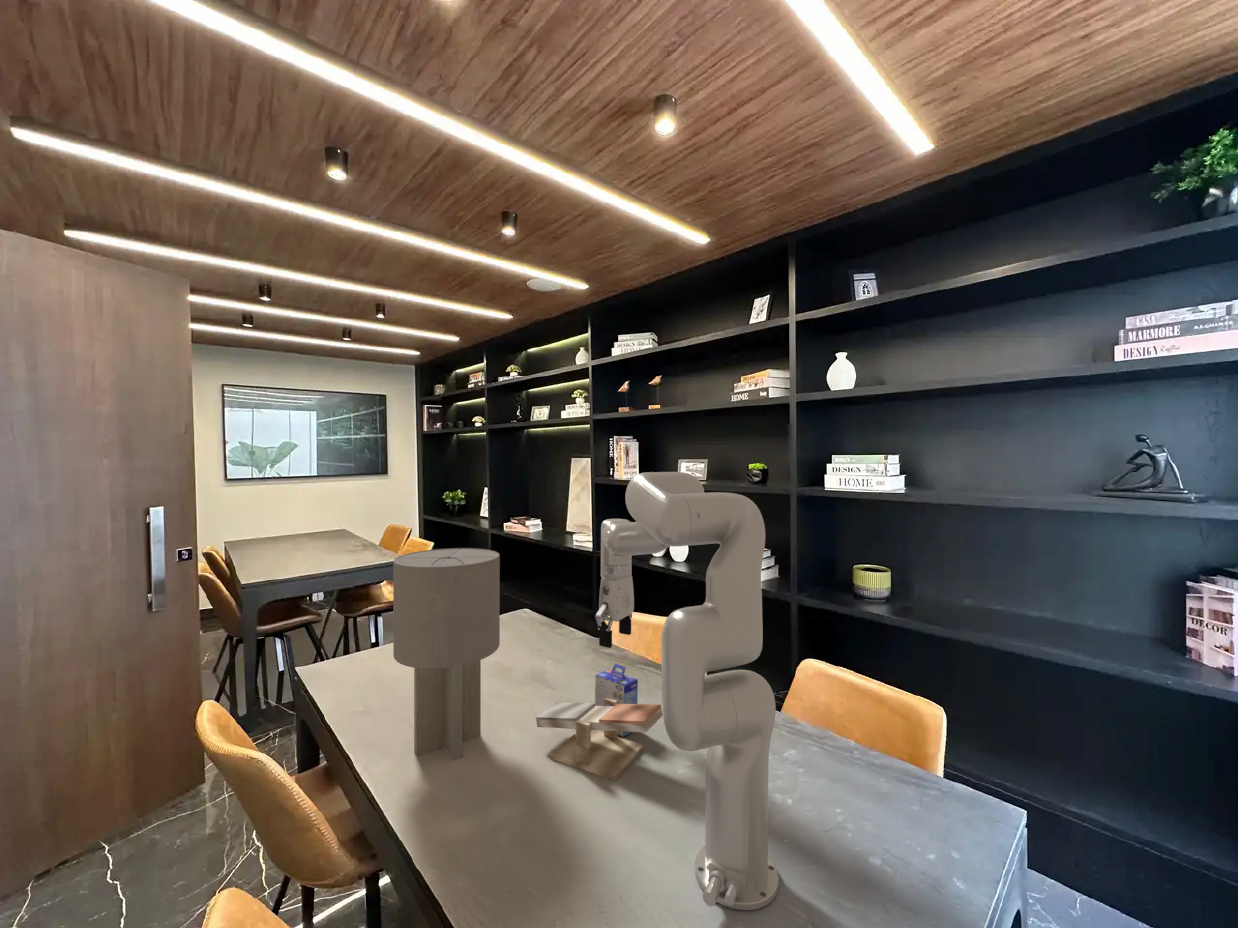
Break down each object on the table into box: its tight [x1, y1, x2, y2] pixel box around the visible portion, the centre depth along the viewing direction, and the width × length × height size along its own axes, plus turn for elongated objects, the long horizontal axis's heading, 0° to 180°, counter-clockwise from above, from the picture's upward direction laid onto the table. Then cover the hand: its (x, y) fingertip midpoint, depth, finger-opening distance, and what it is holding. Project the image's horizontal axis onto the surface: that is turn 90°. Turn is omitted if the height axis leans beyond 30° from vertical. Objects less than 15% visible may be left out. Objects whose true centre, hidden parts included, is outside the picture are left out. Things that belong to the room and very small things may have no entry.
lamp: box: [392, 547, 501, 761], centre depth 116 cm, size 23×23×43 cm
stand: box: [550, 698, 644, 781], centre depth 112 cm, size 16×13×10 cm
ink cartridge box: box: [594, 663, 639, 738], centre depth 123 cm, size 10×6×14 cm, turn 49°
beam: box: [535, 701, 663, 733], centre depth 112 cm, size 28×10×2 cm, turn 61°
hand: (615, 639), depth 124 cm, fingers open, 9 cm apart
